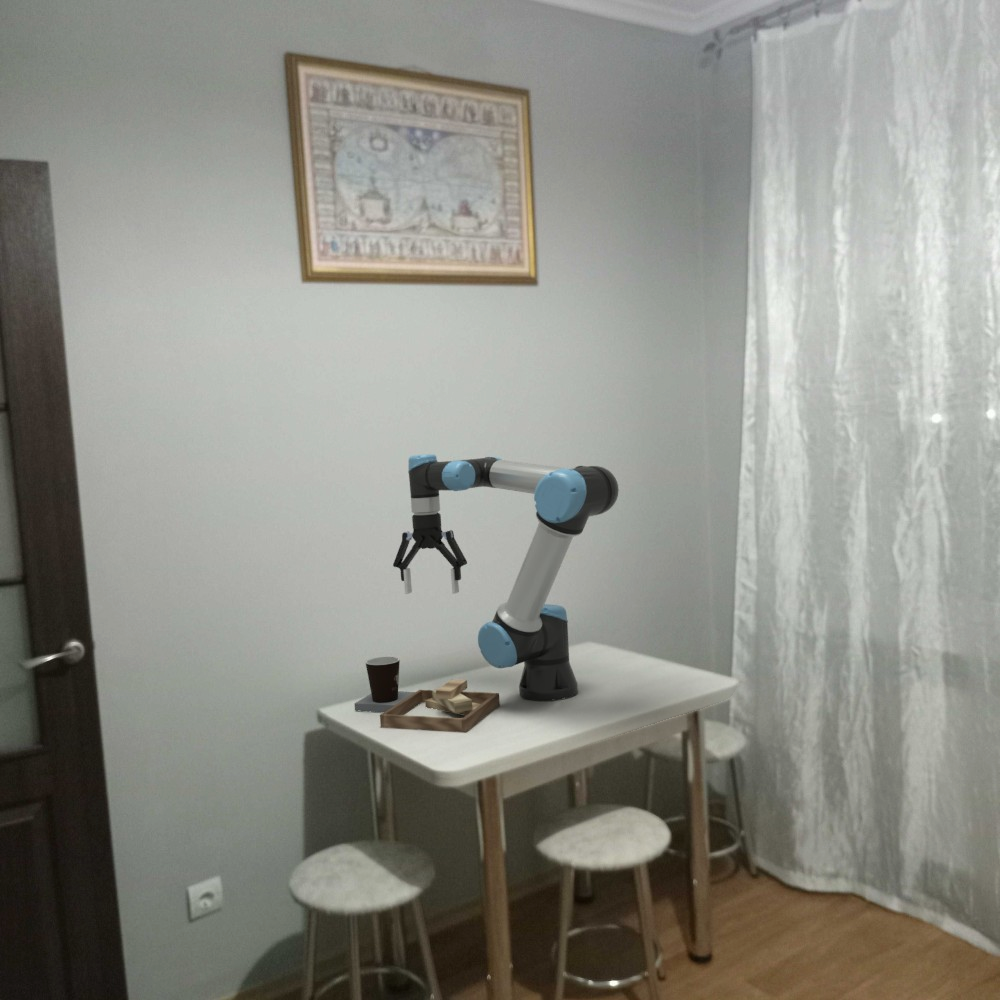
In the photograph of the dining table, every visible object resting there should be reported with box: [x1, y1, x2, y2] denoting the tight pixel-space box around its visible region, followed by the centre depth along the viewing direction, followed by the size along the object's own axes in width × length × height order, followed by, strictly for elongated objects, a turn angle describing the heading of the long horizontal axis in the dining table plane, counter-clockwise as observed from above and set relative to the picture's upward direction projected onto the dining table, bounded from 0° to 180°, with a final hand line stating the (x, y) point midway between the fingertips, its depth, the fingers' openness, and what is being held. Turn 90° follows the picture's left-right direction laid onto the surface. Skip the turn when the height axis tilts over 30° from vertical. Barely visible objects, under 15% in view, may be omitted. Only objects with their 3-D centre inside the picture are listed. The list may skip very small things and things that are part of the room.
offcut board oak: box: [424, 698, 480, 716], centre depth 245 cm, size 16×5×2 cm, turn 50°
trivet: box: [353, 690, 416, 713], centre depth 252 cm, size 12×12×2 cm
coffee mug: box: [365, 656, 401, 703], centre depth 251 cm, size 12×9×10 cm
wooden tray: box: [379, 689, 501, 733], centre depth 240 cm, size 22×22×3 cm
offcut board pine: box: [431, 688, 473, 714], centre depth 243 cm, size 14×5×2 cm, turn 27°
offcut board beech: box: [435, 679, 468, 699], centre depth 244 cm, size 10×4×2 cm, turn 159°
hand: (431, 593), depth 261 cm, fingers open, 13 cm apart
